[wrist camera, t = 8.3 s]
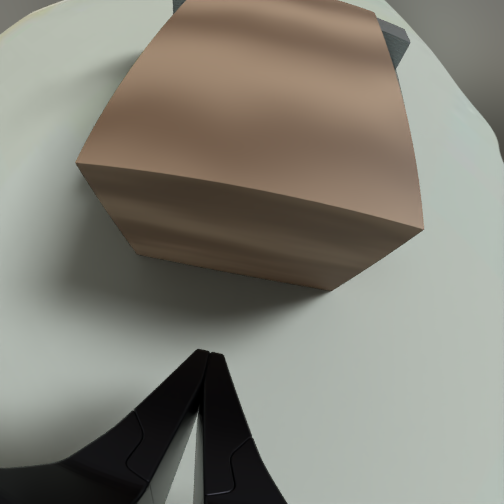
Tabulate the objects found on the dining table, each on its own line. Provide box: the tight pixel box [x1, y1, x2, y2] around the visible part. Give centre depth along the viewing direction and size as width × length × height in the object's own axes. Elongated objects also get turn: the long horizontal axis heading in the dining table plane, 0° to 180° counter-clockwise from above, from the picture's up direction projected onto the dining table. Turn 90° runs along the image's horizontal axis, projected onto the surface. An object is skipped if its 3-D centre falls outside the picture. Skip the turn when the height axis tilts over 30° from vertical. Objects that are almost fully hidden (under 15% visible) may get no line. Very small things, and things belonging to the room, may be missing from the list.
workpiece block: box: [75, 0, 424, 291], centre depth 15 cm, size 16×11×9 cm
